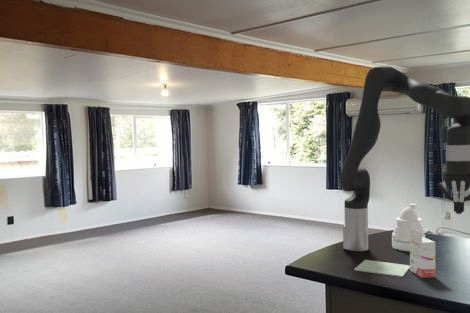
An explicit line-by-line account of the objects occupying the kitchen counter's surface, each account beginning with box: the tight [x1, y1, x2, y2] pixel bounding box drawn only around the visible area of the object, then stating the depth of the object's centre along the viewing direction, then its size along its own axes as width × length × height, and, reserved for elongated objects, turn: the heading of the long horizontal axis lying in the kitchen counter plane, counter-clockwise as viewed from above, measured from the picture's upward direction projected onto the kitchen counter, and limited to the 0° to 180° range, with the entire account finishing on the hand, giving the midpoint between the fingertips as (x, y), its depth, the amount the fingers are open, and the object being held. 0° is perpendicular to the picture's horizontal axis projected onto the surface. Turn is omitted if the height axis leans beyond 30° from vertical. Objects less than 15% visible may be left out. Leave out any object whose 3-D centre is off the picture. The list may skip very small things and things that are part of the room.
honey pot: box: [391, 203, 426, 252], centre depth 182 cm, size 13×13×18 cm
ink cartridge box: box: [409, 229, 437, 279], centre depth 147 cm, size 9×5×15 cm, turn 5°
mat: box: [354, 259, 410, 278], centre depth 155 cm, size 16×13×1 cm
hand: (459, 213), depth 141 cm, fingers closed
